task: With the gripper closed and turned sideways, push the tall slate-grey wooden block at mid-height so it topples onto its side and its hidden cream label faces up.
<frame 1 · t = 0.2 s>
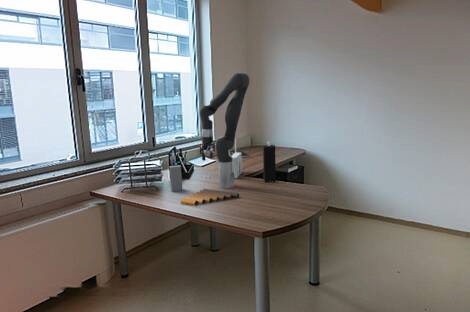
hand: (207, 159, 243), 18 cm above the table, tool pointing down, fingers open, 8 cm apart
skincare box: (236, 175, 270), on the table
black bottle: (269, 181, 251), on the table
wireless router: (234, 156, 346), on the table
slate block: (176, 190, 236), on the table
pan flute: (210, 201, 212), on the table
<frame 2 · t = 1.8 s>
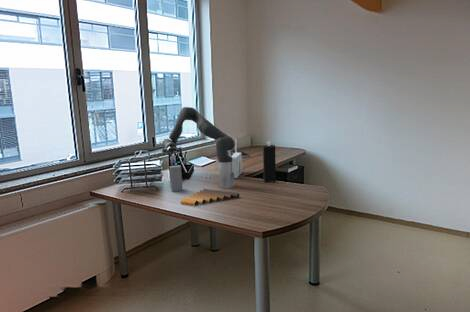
hand: (173, 151, 242), 24 cm above the table, tool horizontal, fingers open, 5 cm apart
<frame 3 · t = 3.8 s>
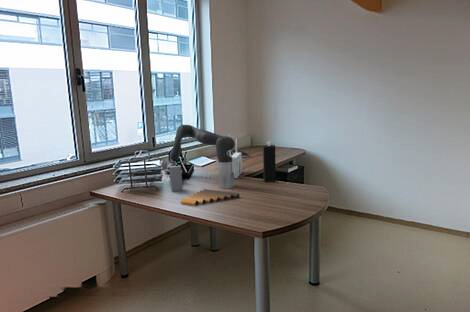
hand: (174, 174, 244), 8 cm above the table, tool horizontal, fingers closed
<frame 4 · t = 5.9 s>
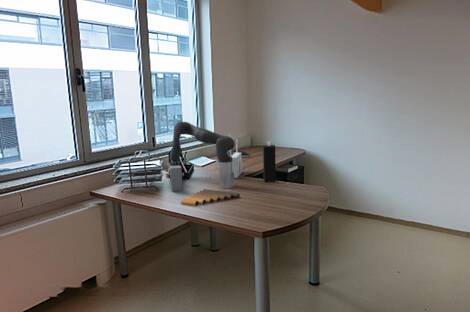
hand: (175, 177, 236), 8 cm above the table, tool horizontal, fingers closed
slate block: (176, 189, 236), on the table, tilted 9°
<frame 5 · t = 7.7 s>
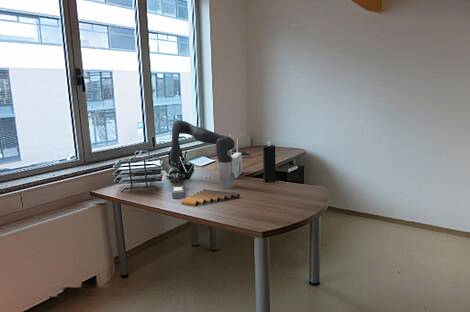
hand: (176, 179, 231), 8 cm above the table, tool horizontal, fingers closed
slate block: (178, 188, 234), point 2 cm above the table, tilted 90°
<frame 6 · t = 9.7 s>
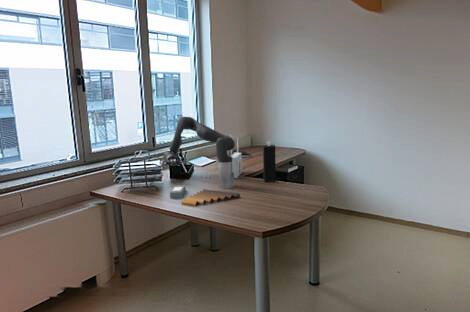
hand: (174, 164, 242), 16 cm above the table, tool horizontal, fingers closed
slate block: (180, 188, 234), point 2 cm above the table, tilted 90°
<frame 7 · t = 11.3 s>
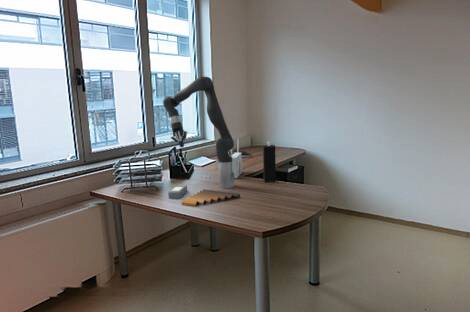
hand: (182, 146, 245), 26 cm above the table, tool tilted 25°, fingers closed
slate block: (181, 188, 234), point 2 cm above the table, tilted 90°
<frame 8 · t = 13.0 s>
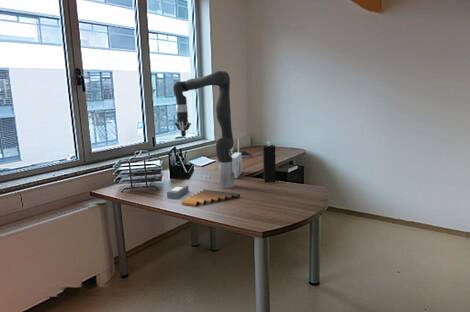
hand: (183, 136, 248), 33 cm above the table, tool pointing down, fingers closed
slate block: (183, 188, 234), point 2 cm above the table, tilted 90°
at the end: slate block tilted 90°; slate block inside the target area (8.3 cm from its centre), point 1.6 cm above the table; the gripper is holding nothing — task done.
